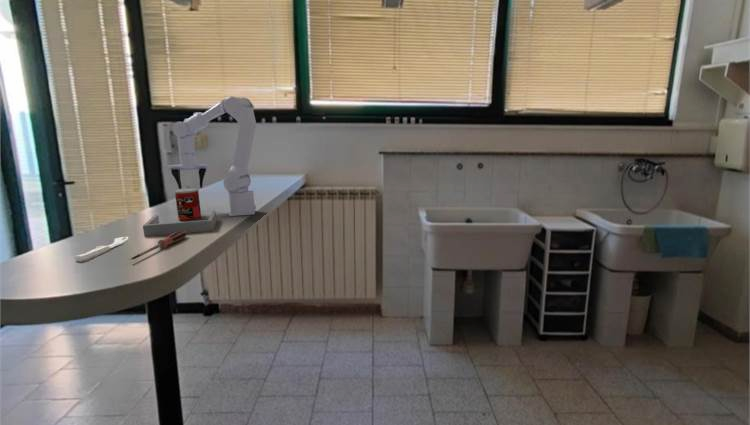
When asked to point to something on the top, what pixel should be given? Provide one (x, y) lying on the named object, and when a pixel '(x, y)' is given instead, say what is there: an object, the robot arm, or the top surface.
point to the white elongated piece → (100, 250)
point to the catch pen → (178, 226)
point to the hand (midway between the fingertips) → (190, 188)
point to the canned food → (188, 204)
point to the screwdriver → (165, 242)
